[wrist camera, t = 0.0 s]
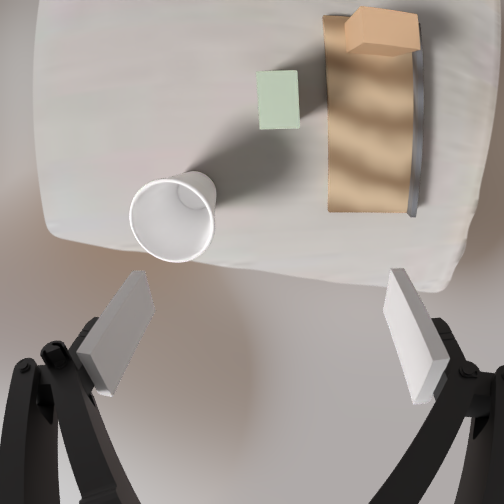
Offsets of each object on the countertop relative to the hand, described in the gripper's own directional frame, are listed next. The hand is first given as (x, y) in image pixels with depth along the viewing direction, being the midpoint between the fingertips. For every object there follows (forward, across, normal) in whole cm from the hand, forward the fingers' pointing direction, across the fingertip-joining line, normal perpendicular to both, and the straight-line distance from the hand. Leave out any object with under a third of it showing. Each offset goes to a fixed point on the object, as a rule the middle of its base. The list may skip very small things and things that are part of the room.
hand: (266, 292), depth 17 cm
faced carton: (+27, +12, +17) cm, 34 cm away
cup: (+28, -11, -3) cm, 31 cm away
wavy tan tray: (+28, +13, +7) cm, 32 cm away
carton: (+28, +1, +9) cm, 29 cm away
